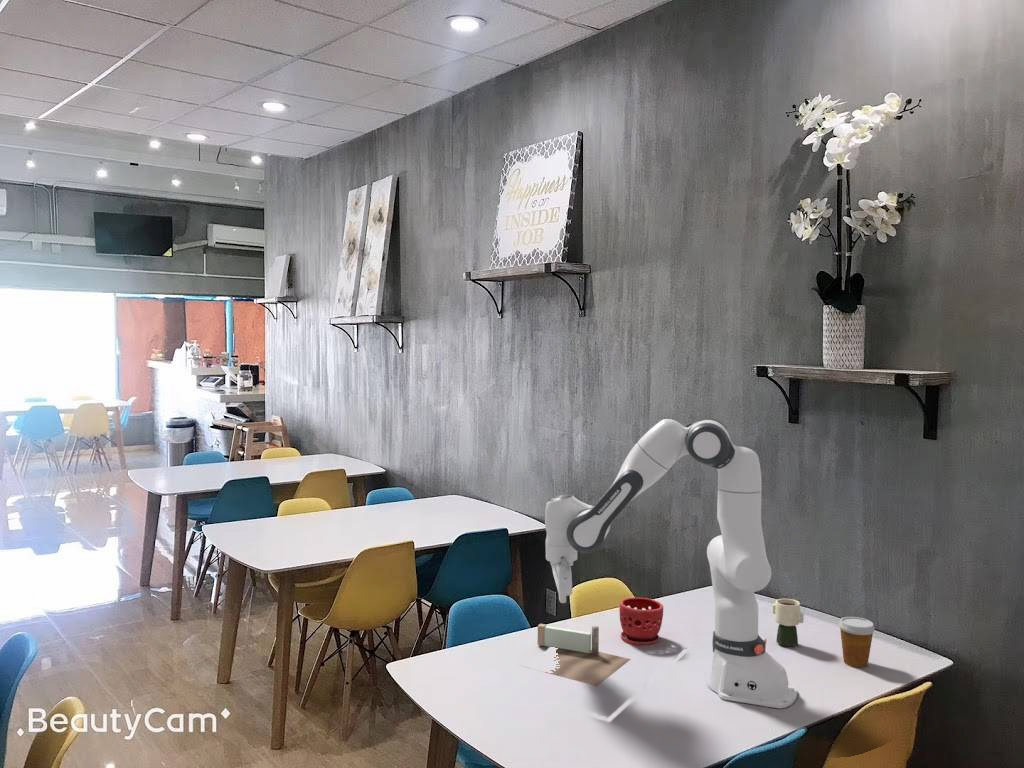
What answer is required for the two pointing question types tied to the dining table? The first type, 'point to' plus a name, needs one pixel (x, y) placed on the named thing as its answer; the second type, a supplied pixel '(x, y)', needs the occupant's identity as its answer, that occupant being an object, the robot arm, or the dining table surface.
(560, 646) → the gate
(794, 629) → the character mug
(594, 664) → the gate base board
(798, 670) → the dining table surface
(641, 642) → the plant pot
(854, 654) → the disposable coffee cup
